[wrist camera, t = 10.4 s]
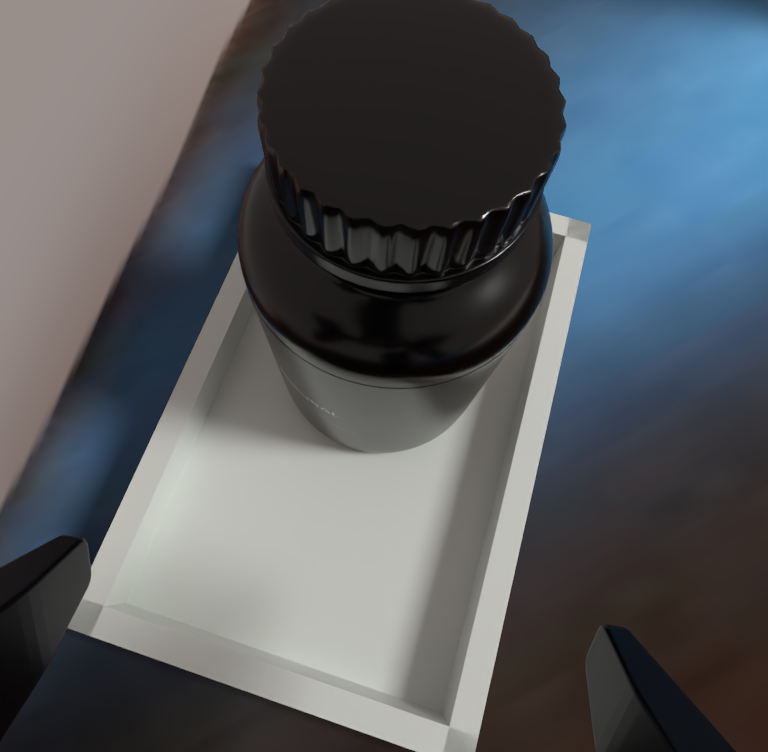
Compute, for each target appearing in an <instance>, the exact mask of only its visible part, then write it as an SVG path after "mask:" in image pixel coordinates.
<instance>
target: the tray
mask: <svg viewBox="0 0 768 752" xmlns="http://www.w3.org/2000/svg"><path fill="white" fill-rule="evenodd" d="M549 213H550V212H549ZM550 218H551V224H552V231H553V259H552V265H551V271H550V276H549V280H548V283H547V287H546V289H545V292H544V294H543V297H542V299H541V301H540V303H539V305H538V307H537V309H536V310H535V312H534V314H533V316H532V318H531V319H530V321H529V323H528V324H527V326H526V327H525V329H524V330H523V331H522V333H521V334H520V336H519V337H518V338H517V340H516V341H515V343H514V344H513V345H512V347H511V348H510V350H509V351H508V352H507V354H506V355H505V356H504V358H503V359H502V361H501V362H500V363H499V365H498V366H497V367H496V369H495V370H494V372H493V373H492V374H491V376H490V377H489V378H488V380H487V381H486V383H485V384H484V385H483V387H482V388H481V389H480V391H479V392H478V394H477V395H476V396H475V398H474V399H473V401H472V402H471V403H470V405H469V406H468V407H467V409H466V410H465V411H464V412H463V414H462V415H461V416H460V417H459V418H458V419H457V421H456V422H455V423H454V424H453V425H452V426H451V427H449V428H448V429H447V430H446V431H445V432H443V433H442V434H441V435H439V436H438V437H436V438H434V439H433V440H431V441H429V442H427V443H425V444H423V445H421V446H418V447H415V448H412V449H409V450H405V451H400V452H393V453H372V452H365V451H360V450H356V449H352V448H349V447H347V446H344V445H341V444H339V443H337V442H335V441H333V440H332V439H330V438H328V437H327V436H325V435H324V434H322V433H321V432H320V431H318V430H317V429H316V428H315V427H314V426H313V425H312V424H310V422H309V421H308V420H307V419H306V418H305V417H304V416H303V414H302V413H301V412H300V410H299V409H298V408H297V406H296V404H295V403H294V401H293V399H292V397H291V395H290V393H289V391H288V389H287V386H286V384H285V382H284V380H283V377H282V375H281V372H280V370H279V367H278V365H277V362H276V360H275V358H274V355H273V353H272V350H271V348H270V345H269V343H268V340H267V338H266V335H265V333H264V331H263V328H262V326H261V323H260V321H259V318H258V316H257V313H256V311H255V308H254V306H253V304H252V301H251V299H250V296H249V293H248V290H247V287H246V284H245V281H244V277H243V274H242V270H241V265H240V260H239V255H238V253H237V255H236V257H235V259H234V261H233V263H232V265H231V268H230V270H229V272H228V274H227V276H226V278H225V281H224V283H223V285H222V287H221V289H220V291H219V293H218V296H217V298H216V300H215V302H214V304H213V306H212V309H211V311H210V313H209V315H208V317H207V319H206V321H205V324H204V326H203V328H202V330H201V332H200V334H199V336H198V339H197V341H196V343H195V345H194V347H193V349H192V352H191V354H190V356H189V358H188V360H187V362H186V364H185V367H184V369H183V371H182V373H181V375H180V377H179V379H178V382H177V384H176V386H175V388H174V390H173V392H172V395H171V397H170V399H169V401H168V403H167V405H166V407H165V410H164V412H163V414H162V416H161V418H160V420H159V422H158V425H157V427H156V429H155V431H154V433H153V435H152V438H151V440H150V442H149V444H148V446H147V448H146V450H145V453H144V455H143V457H142V459H141V461H140V463H139V465H138V468H137V470H136V472H135V474H134V476H133V478H132V481H131V483H130V485H129V487H128V489H127V491H126V493H125V496H124V498H123V500H122V502H121V504H120V506H119V509H118V511H117V513H116V515H115V517H114V519H113V521H112V524H111V526H110V528H109V530H108V532H107V534H106V536H105V539H104V541H103V543H102V545H101V547H100V549H99V552H98V554H97V556H96V558H95V560H94V562H93V564H92V567H91V580H90V583H89V586H88V588H87V590H86V592H85V594H84V596H83V598H82V600H81V602H80V604H79V606H78V608H77V610H76V612H75V614H74V616H73V618H72V620H71V622H70V623H69V625H68V627H67V628H68V629H71V630H74V631H77V632H80V633H83V634H85V635H88V636H91V637H94V638H97V639H100V640H102V641H105V642H108V643H111V644H114V645H117V646H119V647H122V648H125V649H128V650H131V651H134V652H136V653H139V654H142V655H145V656H148V657H151V658H153V659H156V660H159V661H162V662H165V663H167V664H170V665H173V666H176V667H179V668H182V669H184V670H187V671H190V672H193V673H196V674H199V675H201V676H204V677H207V678H210V679H213V680H216V681H218V682H221V683H224V684H227V685H230V686H233V687H235V688H238V689H241V690H244V691H247V692H249V693H252V694H255V695H258V696H261V697H264V698H266V699H269V700H272V701H275V702H278V703H281V704H283V705H286V706H289V707H292V708H295V709H298V710H300V711H303V712H306V713H309V714H312V715H315V716H317V717H320V718H323V719H326V720H329V721H331V722H334V723H337V724H340V725H343V726H346V727H348V728H351V729H354V730H357V731H360V732H363V733H365V734H368V735H371V736H374V737H377V738H380V739H382V740H385V741H388V742H391V743H394V744H397V745H399V746H402V747H405V748H408V749H411V750H413V751H416V752H475V749H476V745H477V740H478V736H479V731H480V727H481V722H482V717H483V713H484V708H485V704H486V699H487V695H488V690H489V686H490V681H491V677H492V672H493V668H494V663H495V659H496V654H497V650H498V645H499V641H500V636H501V631H502V627H503V622H504V618H505V613H506V609H507V604H508V600H509V595H510V591H511V586H512V582H513V577H514V573H515V568H516V564H517V559H518V554H519V550H520V545H521V541H522V536H523V532H524V527H525V523H526V518H527V514H528V509H529V505H530V500H531V496H532V491H533V487H534V482H535V477H536V473H537V468H538V464H539V459H540V455H541V450H542V446H543V441H544V437H545V432H546V428H547V423H548V419H549V414H550V410H551V405H552V400H553V396H554V391H555V387H556V382H557V378H558V373H559V369H560V364H561V360H562V355H563V351H564V346H565V342H566V337H567V333H568V328H569V323H570V319H571V314H572V310H573V305H574V301H575V296H576V292H577V287H578V283H579V278H580V274H581V269H582V265H583V260H584V256H585V251H586V246H587V242H588V237H589V233H590V228H591V224H589V223H585V222H582V221H578V220H575V219H571V218H568V217H564V216H561V215H557V214H553V213H550Z"/></svg>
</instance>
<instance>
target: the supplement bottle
mask: <svg viewBox="0 0 768 752" xmlns="http://www.w3.org/2000/svg"><path fill="white" fill-rule="evenodd" d="M261 77H262V83H261V85H260V86H259V88H258V91H257V96H256V99H257V106H258V111H259V114H258V130H259V135H260V139H261V144H262V148H263V152H264V158H263V160H262V161H261V163H260V164H259V166H258V167H257V169H256V171H255V173H254V175H253V177H252V179H251V180H250V182H249V185H248V187H247V190H246V193H245V195H244V198H243V202H242V206H241V209H240V214H239V221H238V237H237V243H238V255H239V260H240V265H241V270H242V274H243V277H244V281H245V284H246V287H247V290H248V293H249V296H250V299H251V301H252V304H253V306H254V308H255V311H256V313H257V316H258V318H259V321H260V323H261V326H262V328H263V331H264V333H265V335H266V338H267V340H268V343H269V345H270V348H271V350H272V353H273V355H274V358H275V360H276V362H277V365H278V367H279V370H280V372H281V375H282V377H283V380H284V382H285V384H286V386H287V389H288V391H289V393H290V395H291V397H292V399H293V401H294V403H295V404H296V406H297V408H298V409H299V410H300V412H301V413H302V414H303V416H304V417H305V418H306V419H307V420H308V421H309V422H310V424H312V425H313V426H314V427H315V428H316V429H317V430H318V431H320V432H321V433H322V434H324V435H325V436H327V437H328V438H330V439H332V440H333V441H335V442H337V443H339V444H341V445H344V446H347V447H349V448H352V449H356V450H360V451H365V452H372V453H393V452H400V451H405V450H409V449H412V448H415V447H418V446H421V445H423V444H425V443H427V442H429V441H431V440H433V439H434V438H436V437H438V436H439V435H441V434H442V433H443V432H445V431H446V430H447V429H448V428H449V427H451V426H452V425H453V424H454V423H455V422H456V421H457V419H458V418H459V417H460V416H461V415H462V414H463V412H464V411H465V410H466V409H467V407H468V406H469V405H470V403H471V402H472V401H473V399H474V398H475V396H476V395H477V394H478V392H479V391H480V389H481V388H482V387H483V385H484V384H485V383H486V381H487V380H488V378H489V377H490V376H491V374H492V373H493V372H494V370H495V369H496V367H497V366H498V365H499V363H500V362H501V361H502V359H503V358H504V356H505V355H506V354H507V352H508V351H509V350H510V348H511V347H512V345H513V344H514V343H515V341H516V340H517V338H518V337H519V336H520V334H521V333H522V331H523V330H524V329H525V327H526V326H527V324H528V323H529V321H530V319H531V318H532V316H533V314H534V312H535V310H536V309H537V307H538V305H539V303H540V301H541V299H542V297H543V294H544V292H545V289H546V287H547V283H548V280H549V276H550V271H551V265H552V259H553V231H552V224H551V218H550V213H549V209H548V206H547V202H546V199H545V196H544V194H543V191H544V187H545V185H546V183H547V181H548V179H549V177H550V175H551V173H552V171H553V169H554V167H555V165H556V163H557V161H558V158H559V155H560V151H561V140H562V138H563V136H564V133H565V130H566V122H565V119H564V116H563V111H564V108H565V104H566V100H565V99H564V97H563V95H562V94H561V92H560V90H559V85H560V78H559V76H558V75H557V74H556V73H555V72H554V71H553V70H552V68H551V67H550V61H549V57H548V55H547V54H546V53H545V52H543V51H542V50H541V49H539V48H538V47H537V45H536V42H535V40H534V38H533V36H532V35H530V34H529V33H527V32H525V31H523V30H522V29H520V28H519V26H518V25H517V23H516V22H515V21H514V20H513V18H510V17H508V16H505V15H503V14H500V13H499V12H498V11H497V10H496V9H495V8H494V7H493V6H491V5H490V4H487V3H484V2H479V1H475V0H327V1H326V2H325V3H324V4H323V5H322V6H321V7H317V8H314V9H311V10H308V11H307V12H306V13H305V14H304V15H303V17H302V19H301V20H300V21H298V22H297V23H295V24H292V25H290V26H289V27H287V29H286V32H285V34H284V37H283V38H282V39H281V40H280V41H279V42H277V43H276V44H274V45H273V46H272V50H271V58H270V59H269V61H268V62H267V63H266V64H265V65H264V66H263V67H262V69H261Z"/></svg>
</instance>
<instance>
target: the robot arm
mask: <svg viewBox="0 0 768 752" xmlns="http://www.w3.org/2000/svg"><path fill="white" fill-rule="evenodd" d="M90 580H91V565H90V557H89V550H88V544H87V542H86V540H85V539H83V538H78V537H72V536H66V535H63V536H59V537H57V538H55V539H53V540H51V541H49V542H47V543H45V544H43V545H41V546H40V547H38V548H36V549H34V550H32V551H30V552H28V553H27V554H25V555H23V556H21V557H19V558H17V559H15V560H13V561H12V562H10V563H8V564H6V565H4V566H2V567H0V741H1V739H2V737H3V736H4V734H5V733H6V731H7V730H8V728H9V727H10V725H11V723H12V722H13V720H14V719H15V717H16V716H17V714H18V713H19V711H20V709H21V708H22V706H23V705H24V703H25V702H26V700H27V699H28V697H29V695H30V694H31V692H32V691H33V689H34V688H35V686H36V684H37V683H38V681H39V680H40V678H41V676H42V675H43V673H44V671H45V669H46V668H47V666H48V664H49V662H50V660H51V659H52V657H53V655H54V653H55V651H56V649H57V647H58V645H59V643H60V641H61V639H62V637H63V635H64V633H65V631H66V629H67V627H68V625H69V623H70V622H71V620H72V618H73V616H74V614H75V612H76V610H77V608H78V606H79V604H80V602H81V600H82V598H83V596H84V594H85V592H86V590H87V588H88V586H89V583H90ZM586 677H587V685H588V693H589V701H590V709H591V718H592V726H593V734H594V742H595V750H596V752H736V751H735V750H734V749H733V748H732V746H731V745H730V744H729V743H728V742H727V741H726V740H725V739H724V737H723V736H722V735H721V734H720V733H719V732H718V731H717V730H716V728H715V727H714V726H713V725H712V724H711V723H710V722H709V720H708V719H707V718H706V717H705V716H704V715H703V714H702V713H701V711H700V710H699V709H698V708H697V707H696V706H695V705H694V703H693V702H692V701H691V700H690V699H689V698H688V697H687V696H686V694H685V693H684V692H683V691H682V690H681V689H680V688H679V687H678V685H677V684H676V683H675V682H674V681H673V680H672V679H671V677H670V676H669V675H668V674H667V673H666V672H665V671H664V670H663V668H662V667H661V666H660V665H659V664H658V663H657V662H656V660H655V659H654V658H653V657H652V656H651V655H650V654H649V653H648V651H647V650H646V649H645V648H644V647H643V646H642V645H641V644H640V642H639V641H638V640H637V639H636V638H635V637H634V636H633V634H632V633H631V632H630V631H629V630H627V629H626V628H624V627H619V626H613V625H606V624H604V625H601V626H600V627H599V629H598V631H597V633H596V635H595V638H594V640H593V642H592V645H591V647H590V649H589V652H588V654H587V658H586Z"/></svg>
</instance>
